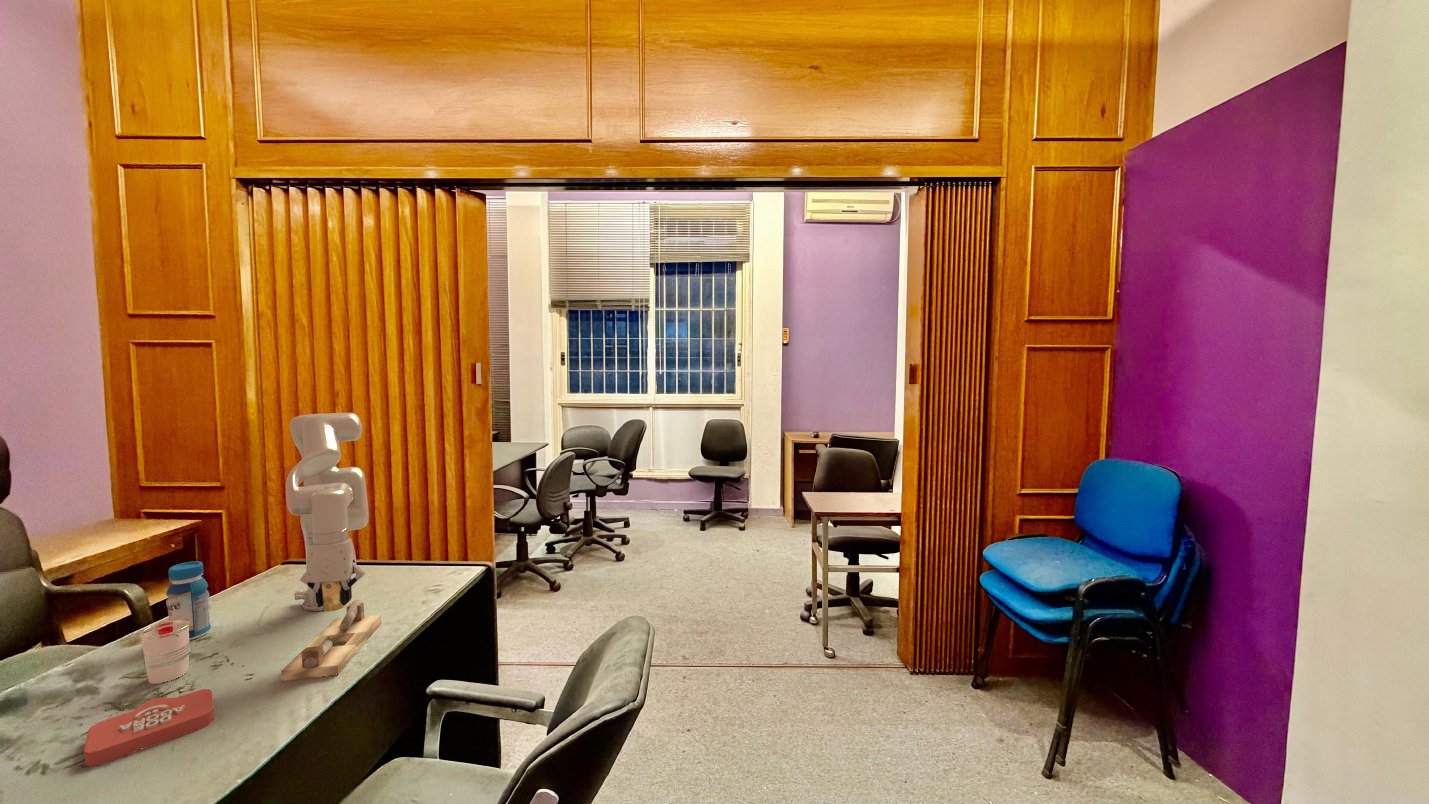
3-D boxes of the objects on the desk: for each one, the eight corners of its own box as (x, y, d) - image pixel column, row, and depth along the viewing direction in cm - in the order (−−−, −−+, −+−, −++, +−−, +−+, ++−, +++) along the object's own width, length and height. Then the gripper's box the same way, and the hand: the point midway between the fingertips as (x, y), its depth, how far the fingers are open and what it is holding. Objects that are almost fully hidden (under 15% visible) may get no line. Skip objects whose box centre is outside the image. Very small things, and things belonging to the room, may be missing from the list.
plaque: (209, 678, 122) (214, 708, 111) (211, 694, 122) (215, 725, 112) (90, 715, 109) (82, 753, 98) (91, 732, 109) (84, 772, 99)
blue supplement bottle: (215, 633, 148) (210, 564, 146) (172, 646, 141) (166, 574, 139) (207, 624, 153) (203, 557, 151) (166, 636, 146) (160, 566, 144)
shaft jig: (281, 680, 126) (279, 649, 126) (335, 626, 152) (334, 600, 151) (338, 675, 129) (336, 644, 128) (381, 622, 154) (380, 596, 154)
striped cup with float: (203, 669, 131) (200, 623, 130) (158, 689, 123) (154, 640, 122) (178, 662, 134) (175, 616, 133) (133, 681, 126) (129, 632, 125)
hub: (317, 613, 135) (315, 583, 135) (328, 603, 141) (327, 574, 140) (339, 611, 136) (337, 581, 136) (349, 601, 142) (348, 573, 142)
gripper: (285, 543, 132) (289, 613, 134) (361, 538, 136) (364, 607, 137) (301, 534, 140) (305, 600, 141) (373, 530, 143) (376, 594, 144)
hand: (334, 603), depth 139 cm, fingers closed on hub, 5 cm apart
